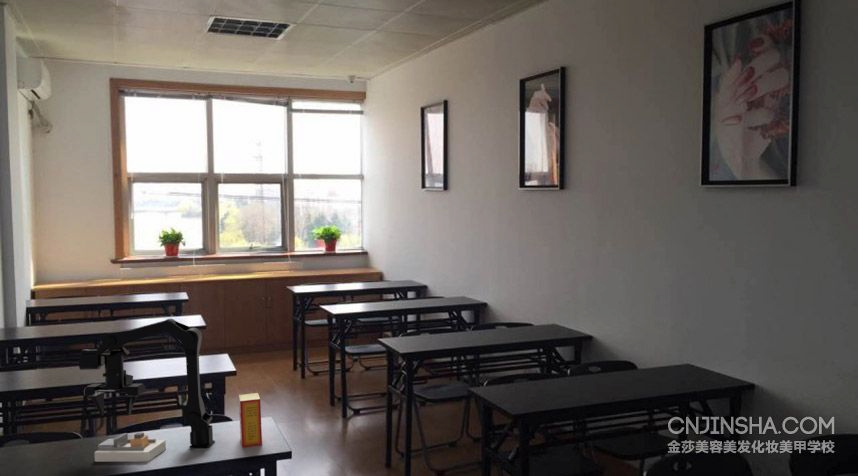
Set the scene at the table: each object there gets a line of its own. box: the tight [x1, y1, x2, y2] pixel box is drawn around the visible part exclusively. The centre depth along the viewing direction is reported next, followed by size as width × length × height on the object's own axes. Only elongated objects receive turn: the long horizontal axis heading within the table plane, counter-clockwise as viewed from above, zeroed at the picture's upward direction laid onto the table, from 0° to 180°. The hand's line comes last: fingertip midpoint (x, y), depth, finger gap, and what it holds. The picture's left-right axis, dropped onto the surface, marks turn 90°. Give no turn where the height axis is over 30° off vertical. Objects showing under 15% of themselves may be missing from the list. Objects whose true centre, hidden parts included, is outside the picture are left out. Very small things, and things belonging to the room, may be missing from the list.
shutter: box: [97, 432, 129, 450], centre depth 232 cm, size 6×6×3 cm
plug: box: [129, 432, 149, 448], centre depth 231 cm, size 4×4×7 cm
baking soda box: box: [238, 392, 263, 449], centre depth 241 cm, size 10×6×16 cm
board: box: [93, 438, 167, 463], centre depth 231 cm, size 18×12×4 cm, turn 84°
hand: (115, 415), depth 236 cm, fingers open, 9 cm apart
